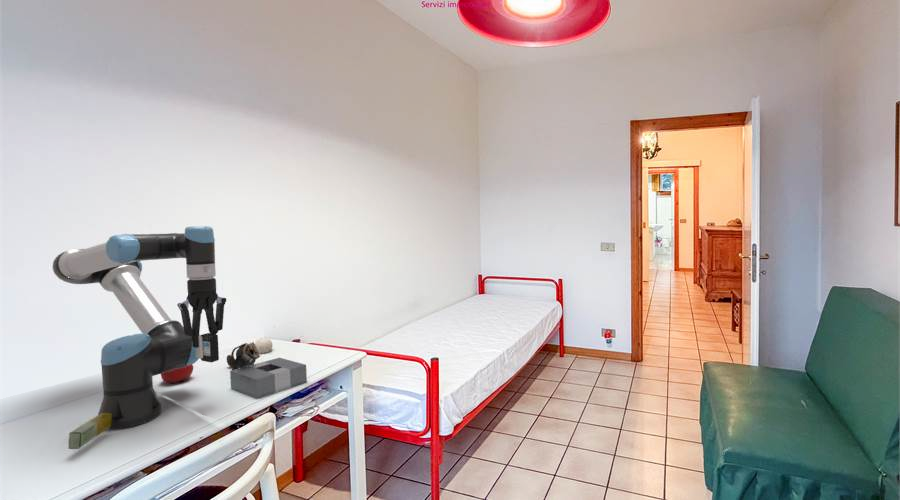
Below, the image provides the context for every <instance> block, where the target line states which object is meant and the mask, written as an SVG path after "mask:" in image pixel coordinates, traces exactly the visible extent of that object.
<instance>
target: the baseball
mask: <svg viewBox="0 0 900 500" xmlns="http://www.w3.org/2000/svg"><path fill="white" fill-rule="evenodd" d="M254 344H255V346H256V348H257V350H258V353H259V354H268V353H270V352H271V351H272V349H273V342H272V341H271V339H270V338H268V337H261V338H259V339H257V341H255V342H254Z"/></svg>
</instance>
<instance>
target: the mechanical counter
mask: <svg viewBox="0 0 900 500" xmlns="http://www.w3.org/2000/svg"><path fill="white" fill-rule="evenodd" d="M235 351H236V352H235ZM234 353H235V355H234ZM245 353H251V354H252V355H253V356H254V357H255V358H256V359H255V361H256V360H257V359H259V358H260V357H261V355H260V353H258V350H257V348H256V346H255V342H250V343H247V342H245V343H242V344H240V345H238V346H236V347H234V348H233V349H232V351H231V354H228V355H226V363H227V365H228V366H229V367H230V368H233V365H234V361H235V359H236V357H237V356H238V355H241V354H245Z"/></svg>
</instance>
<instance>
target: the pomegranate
mask: <svg viewBox="0 0 900 500" xmlns="http://www.w3.org/2000/svg"><path fill="white" fill-rule="evenodd" d="M193 372H194V365H193V364H191V365H188V366H186V367H184V368H179V369H175V370H172V371H168V372H165V373H161V374H160V376H161V377H160V378H161V379H162V380H163V381H164V382H165V383H171V384H172V383H178V382H182V381H184V380H187V379H188V378H190V377H191V375H192V373H193Z"/></svg>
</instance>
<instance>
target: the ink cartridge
mask: <svg viewBox="0 0 900 500" xmlns="http://www.w3.org/2000/svg"><path fill="white" fill-rule="evenodd" d="M200 336H202V346H203V358H202V359H200V360H201V361H202V362H207V363H213V362H218V361H219V359H220V356H219V354H220V353H219V336H218V334H211V333H210V332H207V333H203V334H200Z"/></svg>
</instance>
